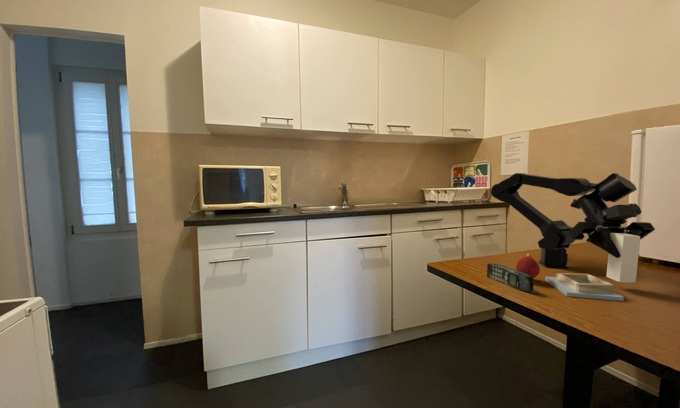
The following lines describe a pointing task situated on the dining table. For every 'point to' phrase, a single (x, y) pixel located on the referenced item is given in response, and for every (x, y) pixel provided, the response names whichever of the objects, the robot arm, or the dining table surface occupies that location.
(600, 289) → the socket collar
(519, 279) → the mobile phone
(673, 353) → the dining table surface
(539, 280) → the dining table surface
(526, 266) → the onion
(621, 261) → the block
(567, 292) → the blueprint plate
